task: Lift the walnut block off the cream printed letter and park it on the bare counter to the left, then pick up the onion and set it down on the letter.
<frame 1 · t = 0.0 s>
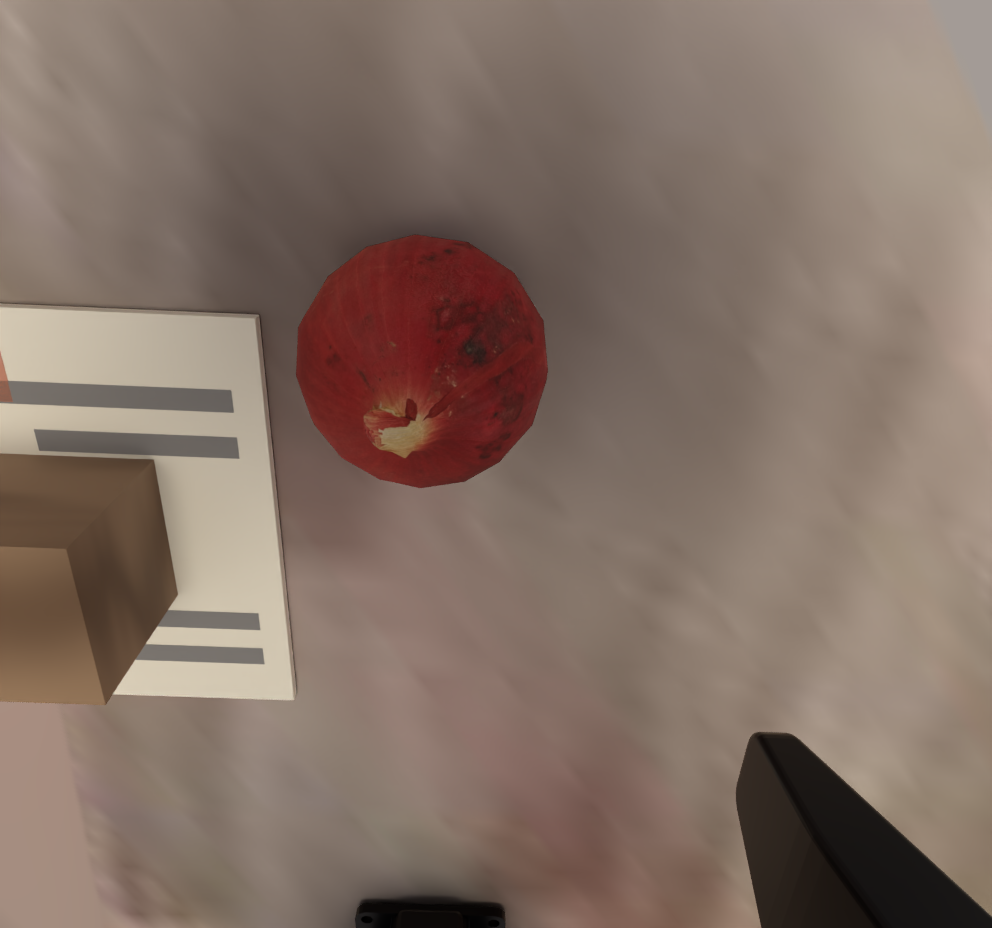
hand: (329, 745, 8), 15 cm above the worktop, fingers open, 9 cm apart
letter: (124, 522, 24), on the worktop
onion: (437, 320, 21), on the worktop
walnut block: (87, 527, 23), resting on letter
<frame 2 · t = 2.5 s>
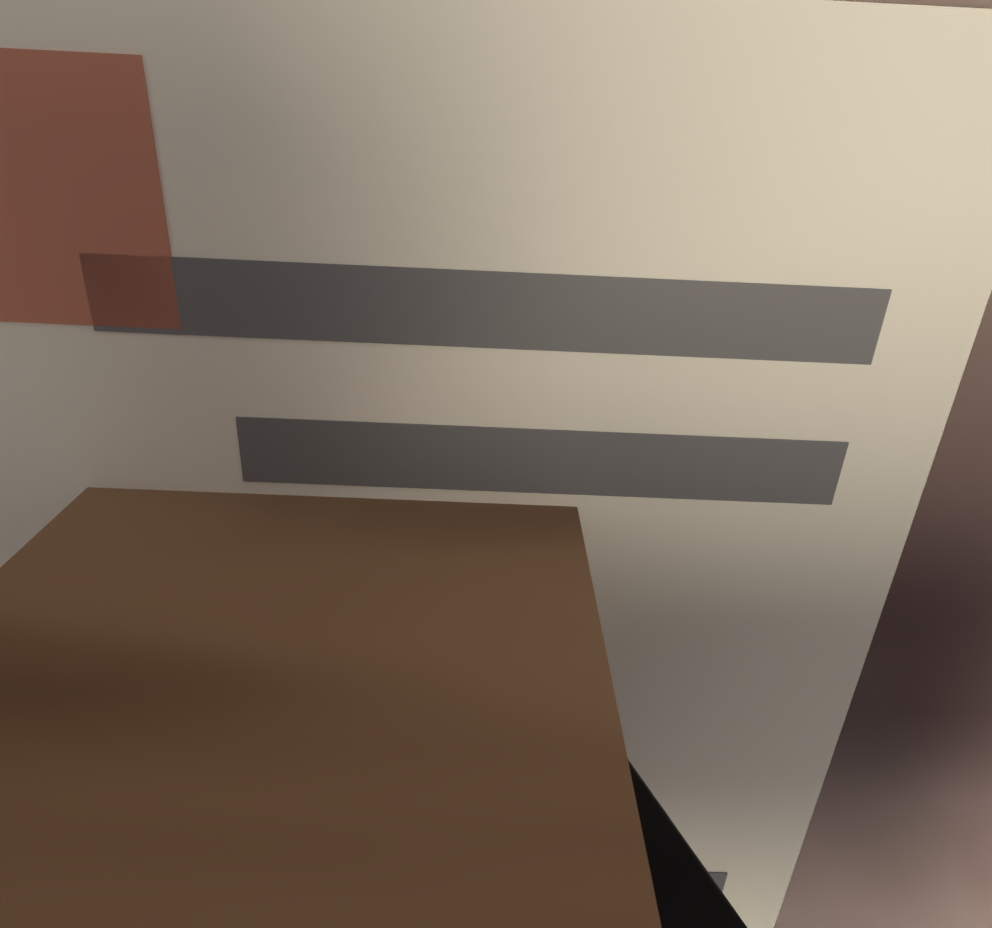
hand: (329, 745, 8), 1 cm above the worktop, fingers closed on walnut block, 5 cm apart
letter: (432, 663, 9), on the worktop
walnut block: (345, 683, 9), resting on letter, touching gripper
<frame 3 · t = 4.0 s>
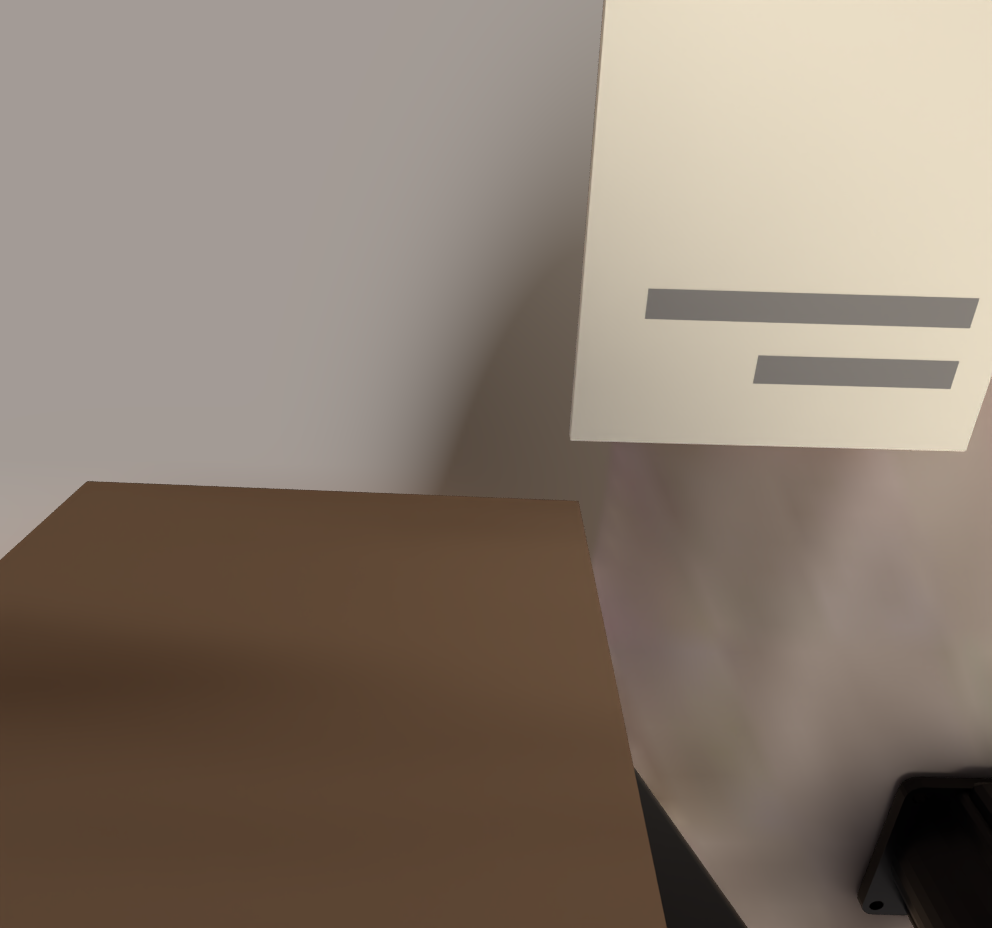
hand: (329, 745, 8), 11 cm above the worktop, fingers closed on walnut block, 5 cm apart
letter: (825, 141, 16), on the worktop
walnut block: (345, 679, 9), point 11 cm above the worktop, touching gripper
when the fingers open (2 cm above the worktop, at t = 5.8 s): walnut block drops 1 cm, on the worktop.
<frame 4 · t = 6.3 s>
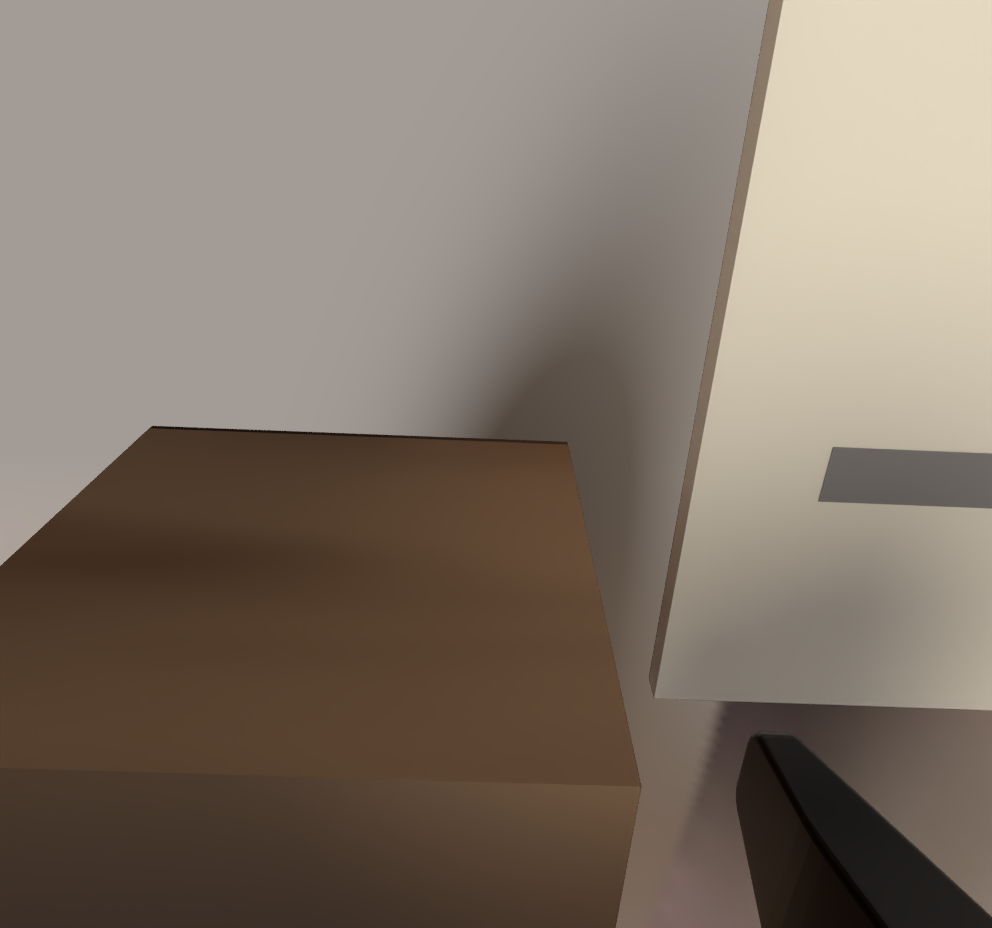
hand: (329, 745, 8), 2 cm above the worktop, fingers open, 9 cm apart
walnut block: (368, 602, 10), on the worktop
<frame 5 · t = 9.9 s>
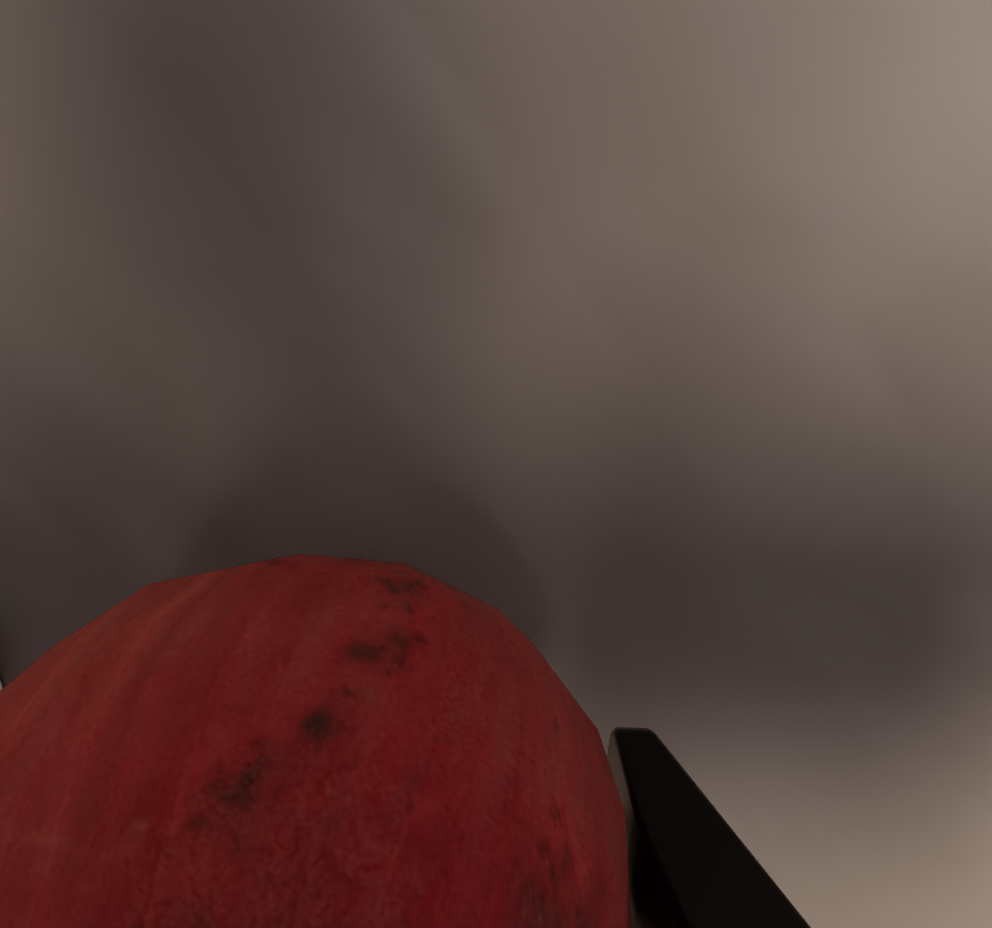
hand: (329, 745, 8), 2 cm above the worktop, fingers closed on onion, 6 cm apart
onion: (365, 613, 10), on the worktop, touching gripper
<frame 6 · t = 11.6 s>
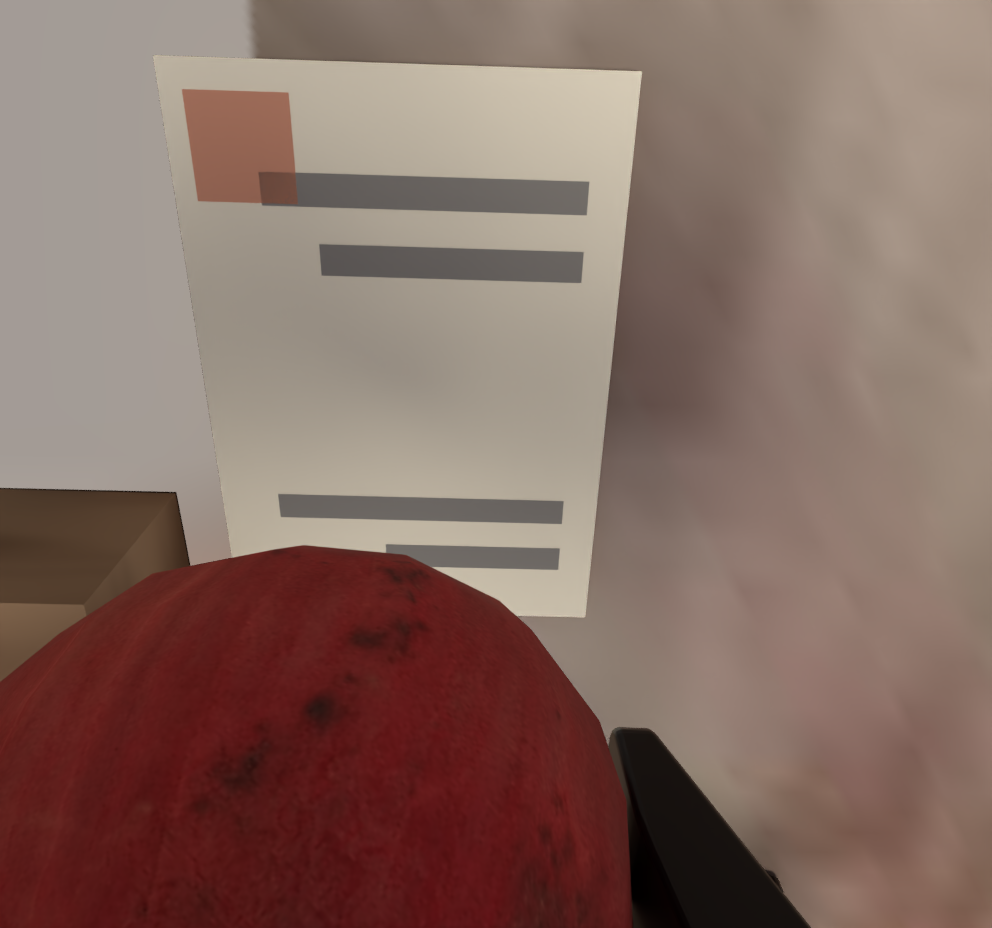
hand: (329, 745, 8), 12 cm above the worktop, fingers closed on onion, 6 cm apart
letter: (408, 380, 18), on the worktop
onion: (367, 607, 10), point 10 cm above the worktop, touching gripper
walnut block: (103, 565, 21), on the worktop
when the fingers open (4 cm above the worktop, at t = 13.5 s): onion drops 1 cm, resting on letter.
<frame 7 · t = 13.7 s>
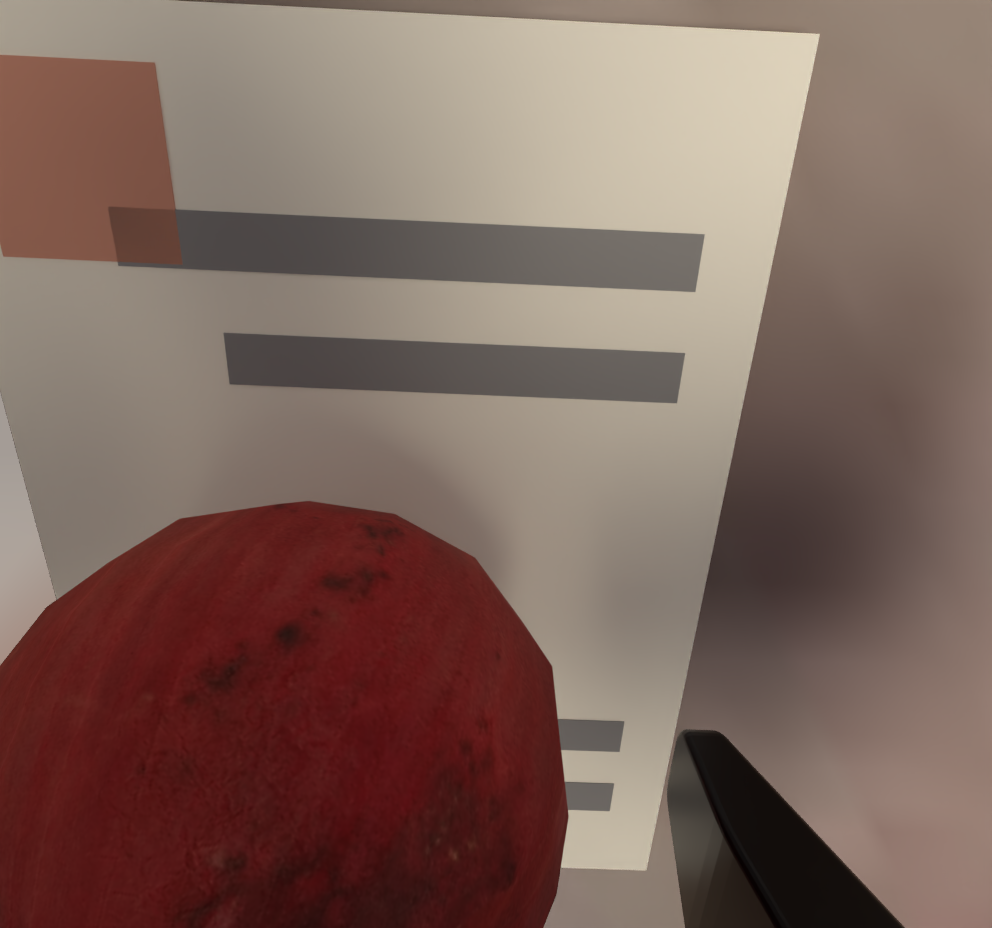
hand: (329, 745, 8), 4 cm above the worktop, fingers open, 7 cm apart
letter: (381, 541, 11), on the worktop
onion: (379, 556, 11), resting on letter
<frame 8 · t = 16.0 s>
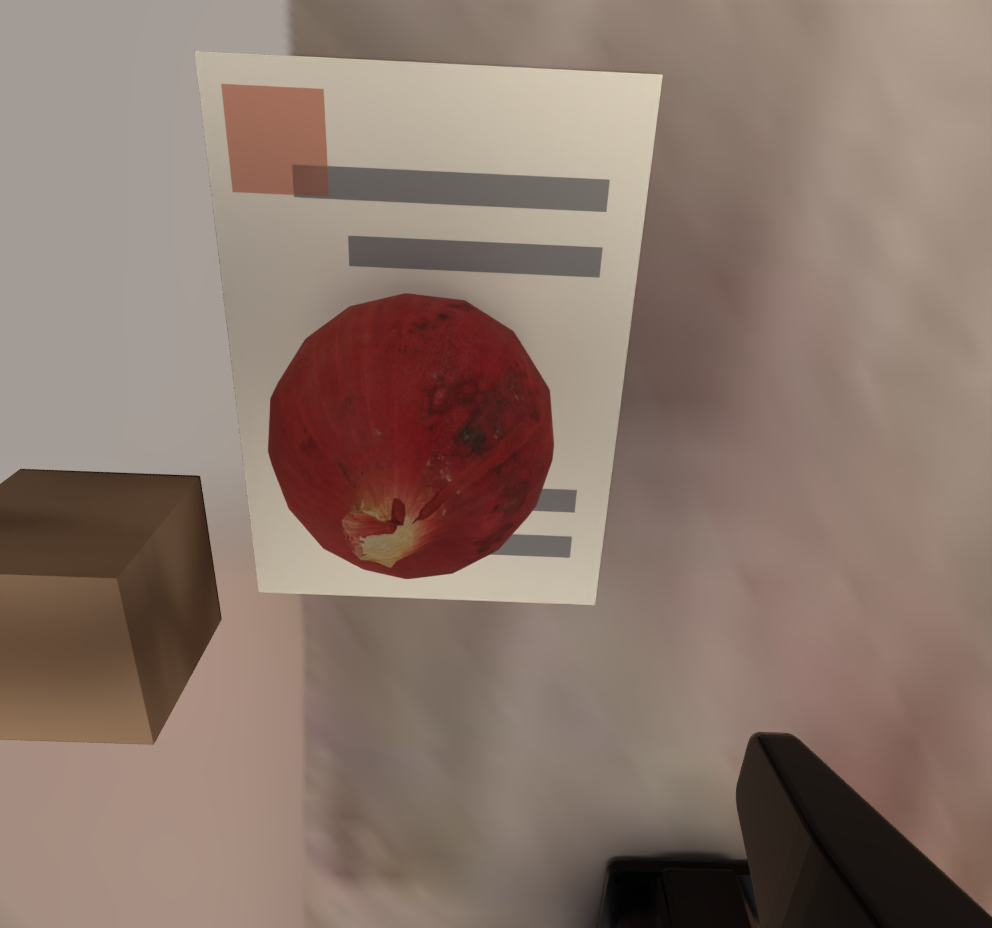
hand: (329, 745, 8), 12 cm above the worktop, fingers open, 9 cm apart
letter: (429, 369, 19), on the worktop
onion: (429, 373, 19), resting on letter
walnut block: (126, 547, 22), on the worktop
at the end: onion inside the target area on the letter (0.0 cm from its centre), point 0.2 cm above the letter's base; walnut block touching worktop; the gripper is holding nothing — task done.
